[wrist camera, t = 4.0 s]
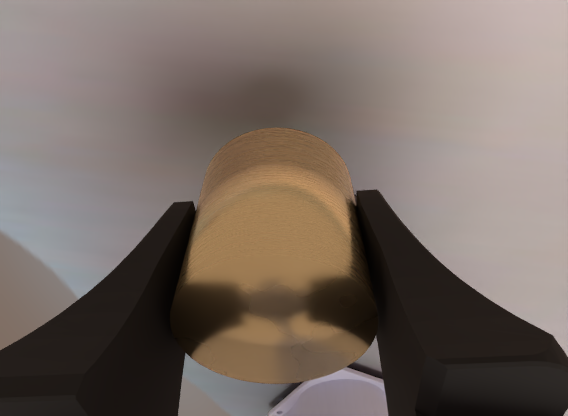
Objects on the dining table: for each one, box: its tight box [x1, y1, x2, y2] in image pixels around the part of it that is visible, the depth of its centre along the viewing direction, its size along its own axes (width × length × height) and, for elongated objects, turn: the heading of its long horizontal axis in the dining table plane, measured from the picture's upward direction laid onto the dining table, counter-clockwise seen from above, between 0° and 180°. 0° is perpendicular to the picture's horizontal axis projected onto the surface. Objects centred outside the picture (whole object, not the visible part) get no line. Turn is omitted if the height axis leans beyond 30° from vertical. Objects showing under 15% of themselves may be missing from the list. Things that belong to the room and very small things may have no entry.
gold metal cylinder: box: [170, 128, 378, 384], centre depth 13 cm, size 5×5×6 cm
